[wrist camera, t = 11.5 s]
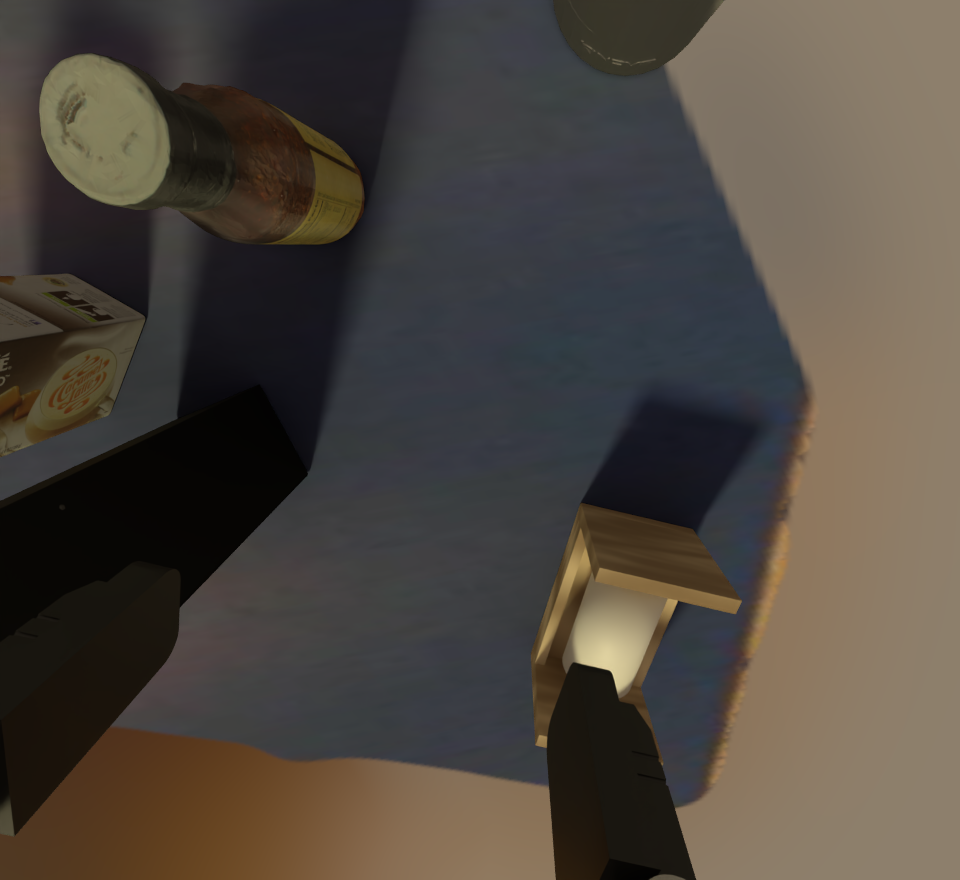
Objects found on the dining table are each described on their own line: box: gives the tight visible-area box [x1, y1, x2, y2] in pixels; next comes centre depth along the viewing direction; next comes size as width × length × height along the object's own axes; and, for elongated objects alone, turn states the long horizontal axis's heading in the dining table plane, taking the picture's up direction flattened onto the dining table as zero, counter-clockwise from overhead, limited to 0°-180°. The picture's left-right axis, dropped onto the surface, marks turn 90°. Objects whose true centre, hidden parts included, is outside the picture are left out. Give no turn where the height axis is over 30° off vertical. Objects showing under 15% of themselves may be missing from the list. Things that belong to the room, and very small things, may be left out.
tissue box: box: [0, 385, 308, 642], centre depth 27 cm, size 8×8×28 cm
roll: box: [562, 572, 668, 698], centre depth 39 cm, size 10×6×6 cm, turn 168°
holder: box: [531, 503, 742, 765], centre depth 38 cm, size 15×9×9 cm, turn 167°
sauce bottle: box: [39, 53, 365, 245], centre depth 24 cm, size 6×6×20 cm
